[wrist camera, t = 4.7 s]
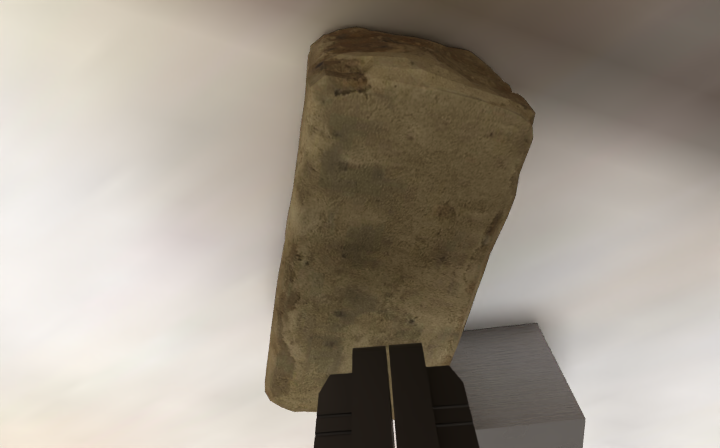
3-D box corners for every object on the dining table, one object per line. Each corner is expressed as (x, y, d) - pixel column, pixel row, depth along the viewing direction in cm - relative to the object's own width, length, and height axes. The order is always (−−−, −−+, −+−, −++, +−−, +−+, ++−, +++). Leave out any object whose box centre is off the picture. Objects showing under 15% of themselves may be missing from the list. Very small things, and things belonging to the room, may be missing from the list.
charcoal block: (536, 322, 21) (585, 418, 17) (533, 409, 24) (575, 515, 19) (410, 335, 22) (426, 435, 17) (419, 421, 24) (435, 528, 19)
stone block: (276, 321, 21) (256, 422, 17) (314, 12, 16) (300, 35, 11) (420, 339, 22) (439, 442, 17) (503, 46, 16) (561, 81, 12)
